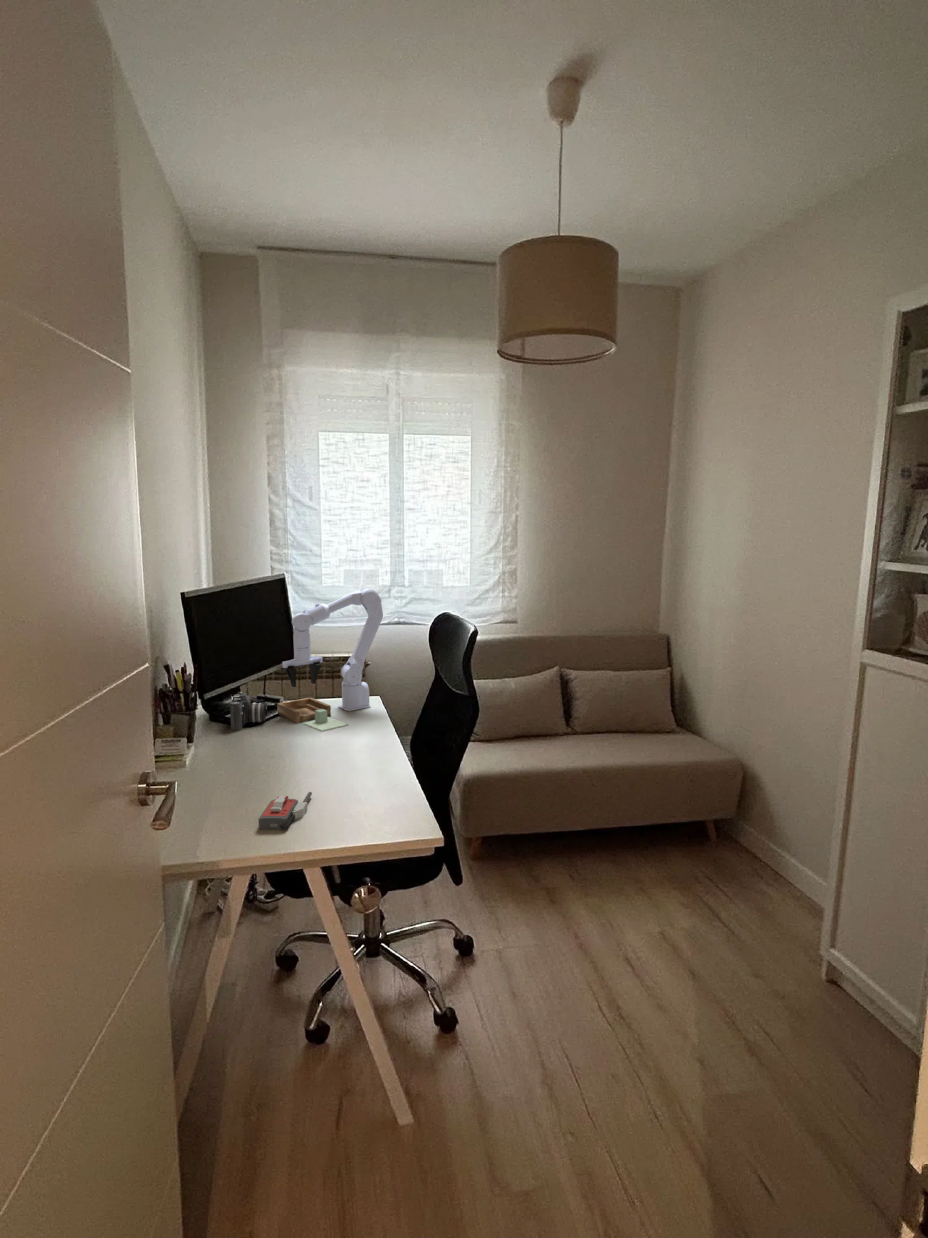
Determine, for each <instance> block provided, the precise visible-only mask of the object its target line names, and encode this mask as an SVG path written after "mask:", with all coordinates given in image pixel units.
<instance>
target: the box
mask: <svg viewBox="0 0 928 1238" xmlns="http://www.w3.org/2000/svg"><path fill="white" fill-rule="evenodd" d="M276 706H277V711H276V712H277V714H278V715H279V716H281V717H283V718H285V719H288V720H289V721H292V722H293V723H295V724H298V723H304V722H309V721H313V720H315V710H319V709H325V710H327V715H328V717H331V716H332V709H331V705H330V704H328V703H325V702H323V701H320V700H318V699H316V698H313V697H306V698H299V699H295V700H289V701H284V702H279V703H278V702H277V703H276Z"/></svg>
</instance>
